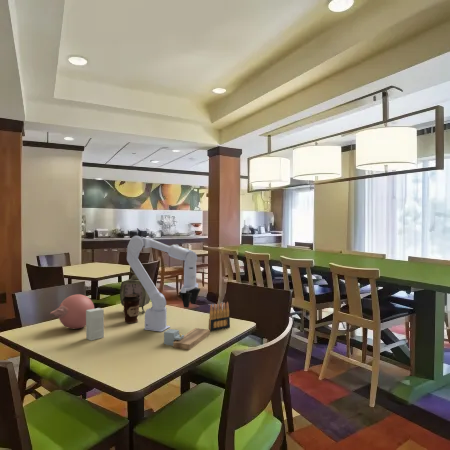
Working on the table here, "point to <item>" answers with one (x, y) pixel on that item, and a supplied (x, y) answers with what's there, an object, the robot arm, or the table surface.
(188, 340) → the board
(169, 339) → the grey stepped block
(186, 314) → the table surface
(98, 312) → the skincare box
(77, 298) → the balloon
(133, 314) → the coffee cup
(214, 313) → the ammunition clip
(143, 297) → the tabletop clock
